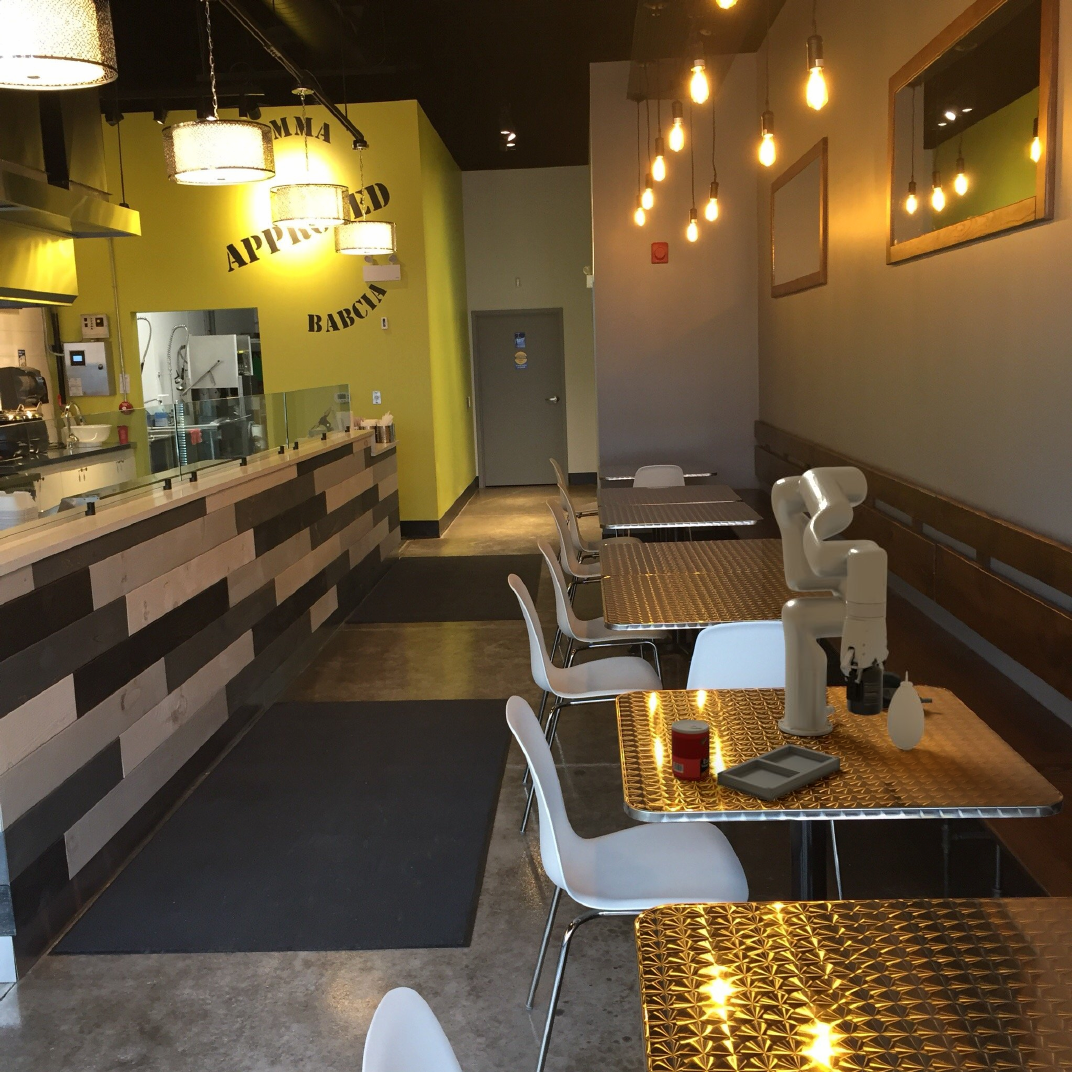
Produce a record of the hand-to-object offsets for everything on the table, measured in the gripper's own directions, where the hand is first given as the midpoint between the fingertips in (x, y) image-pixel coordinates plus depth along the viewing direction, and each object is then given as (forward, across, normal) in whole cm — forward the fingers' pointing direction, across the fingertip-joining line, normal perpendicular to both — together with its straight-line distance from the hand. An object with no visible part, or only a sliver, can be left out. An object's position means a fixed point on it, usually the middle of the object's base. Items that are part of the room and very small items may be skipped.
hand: (864, 695), depth 212 cm
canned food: (+20, +18, -30) cm, 40 cm away
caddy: (+19, +6, -16) cm, 26 cm away
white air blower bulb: (+20, -27, -6) cm, 34 cm away
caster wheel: (+20, -53, -22) cm, 61 cm away
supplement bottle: (+3, 0, 0) cm, 3 cm away
